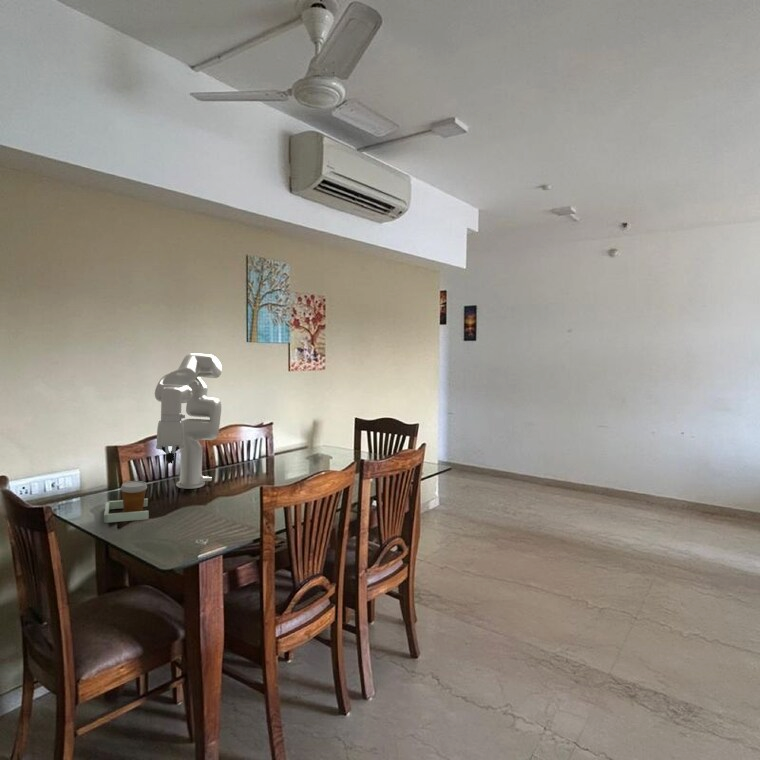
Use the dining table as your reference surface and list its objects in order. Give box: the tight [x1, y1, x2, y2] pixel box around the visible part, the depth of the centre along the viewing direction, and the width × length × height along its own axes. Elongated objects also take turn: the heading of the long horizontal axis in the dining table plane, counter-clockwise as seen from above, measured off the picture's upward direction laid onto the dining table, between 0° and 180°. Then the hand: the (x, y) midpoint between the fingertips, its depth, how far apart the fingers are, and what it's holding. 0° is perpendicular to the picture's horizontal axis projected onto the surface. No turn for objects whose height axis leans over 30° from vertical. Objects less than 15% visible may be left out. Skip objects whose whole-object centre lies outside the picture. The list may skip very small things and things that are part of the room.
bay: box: [103, 498, 150, 524], centre depth 205 cm, size 15×16×3 cm
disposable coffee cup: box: [120, 480, 148, 512], centre depth 205 cm, size 10×10×12 cm
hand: (169, 462), depth 211 cm, fingers closed
